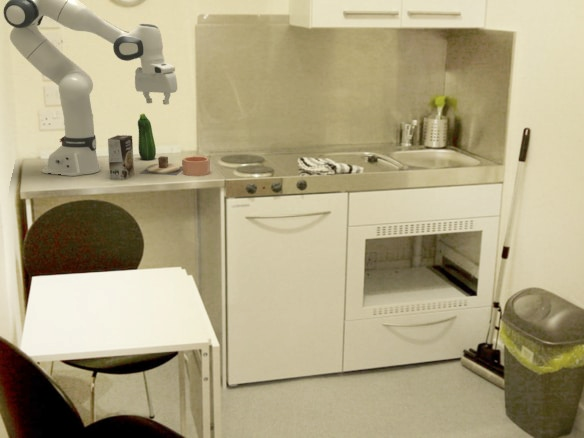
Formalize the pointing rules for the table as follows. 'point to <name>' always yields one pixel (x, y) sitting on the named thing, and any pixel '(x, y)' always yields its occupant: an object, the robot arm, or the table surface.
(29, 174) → the table surface
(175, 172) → the mat
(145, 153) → the vegetable
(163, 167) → the lid
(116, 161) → the coffee box
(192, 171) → the bowl
